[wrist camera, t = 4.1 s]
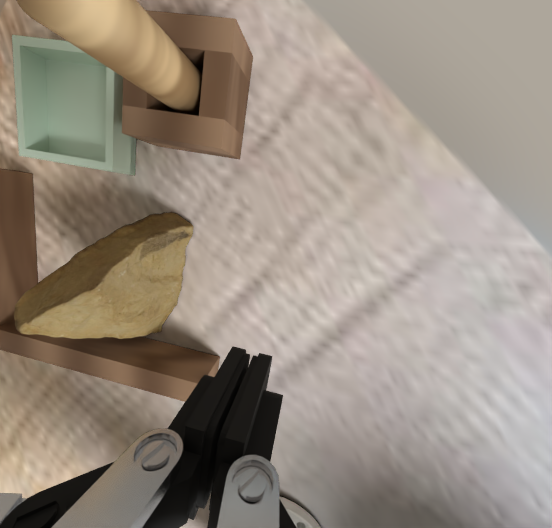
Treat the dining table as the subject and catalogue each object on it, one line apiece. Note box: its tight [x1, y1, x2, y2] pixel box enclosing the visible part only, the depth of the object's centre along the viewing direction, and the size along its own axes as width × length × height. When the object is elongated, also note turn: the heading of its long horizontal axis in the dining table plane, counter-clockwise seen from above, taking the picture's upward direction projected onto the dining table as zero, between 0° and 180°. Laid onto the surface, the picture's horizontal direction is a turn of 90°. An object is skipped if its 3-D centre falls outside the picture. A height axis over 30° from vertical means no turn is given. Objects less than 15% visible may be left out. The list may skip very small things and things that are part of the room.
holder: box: [122, 10, 253, 159], centre depth 18 cm, size 7×7×4 cm
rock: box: [14, 212, 193, 339], centre depth 21 cm, size 11×9×10 cm
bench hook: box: [0, 169, 220, 402], centre depth 21 cm, size 22×16×7 cm
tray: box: [12, 35, 136, 176], centre depth 21 cm, size 8×8×2 cm
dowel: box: [16, 0, 203, 116], centre depth 15 cm, size 3×3×12 cm
